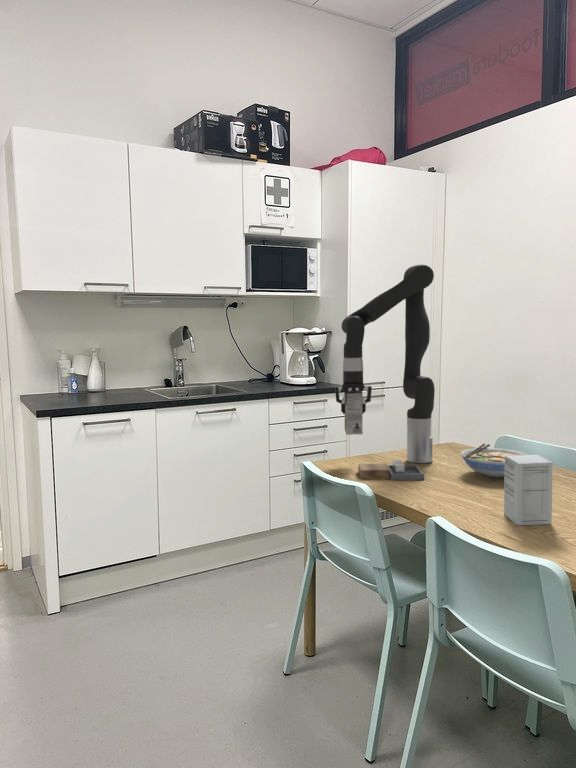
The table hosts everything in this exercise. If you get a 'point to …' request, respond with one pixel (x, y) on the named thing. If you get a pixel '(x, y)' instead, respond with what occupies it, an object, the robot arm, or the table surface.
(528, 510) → the supplement box
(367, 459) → the table surface
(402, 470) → the chip
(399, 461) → the chip
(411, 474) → the charcoal tray
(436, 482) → the table surface
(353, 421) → the coffee box
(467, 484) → the table surface
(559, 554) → the table surface
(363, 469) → the brown flat block
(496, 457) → the ramen bowl
